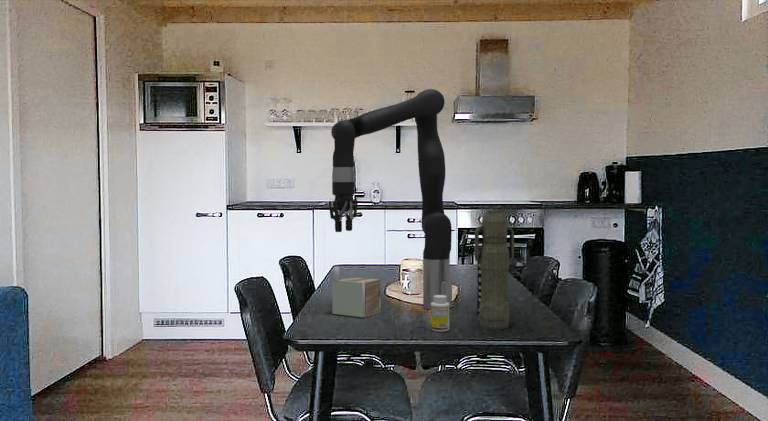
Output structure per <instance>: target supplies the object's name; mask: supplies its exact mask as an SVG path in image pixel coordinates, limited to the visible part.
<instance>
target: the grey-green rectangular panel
mask: <svg viewBox="0 0 768 421" xmlns="http://www.w3.org/2000/svg"><path fill="white" fill-rule="evenodd" d="M331 281H332V282H331V285H332V286H331V287H332V288H331V289H332V291H331V292H332V294H331V295H332V314H333V315H339V316H349V317H356V318H364V317H365V283H364V282H353V281H342V280H341V279H340V266H339V265H337V266H333V279H332V280H331ZM365 318H366V317H365Z"/></svg>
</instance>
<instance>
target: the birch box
mask: <svg viewBox="0 0 768 421" xmlns="http://www.w3.org/2000/svg"><path fill="white" fill-rule="evenodd" d="M340 280H342V281H353V282H364V283H365V318H367V316H368V317H370V315H371V316H373V315H377V314H380V313H382V312H381V311H382V305H381V304H382V303H381V302H382V299H381V298H382V295H381V294H382V292H381V288H382V285H381V281H382V280H381V279H375V278H364V277H363V278H362V277H353V276H352V277H351V276H350V277H347V278H346V277H344V278H341V279H340Z"/></svg>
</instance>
